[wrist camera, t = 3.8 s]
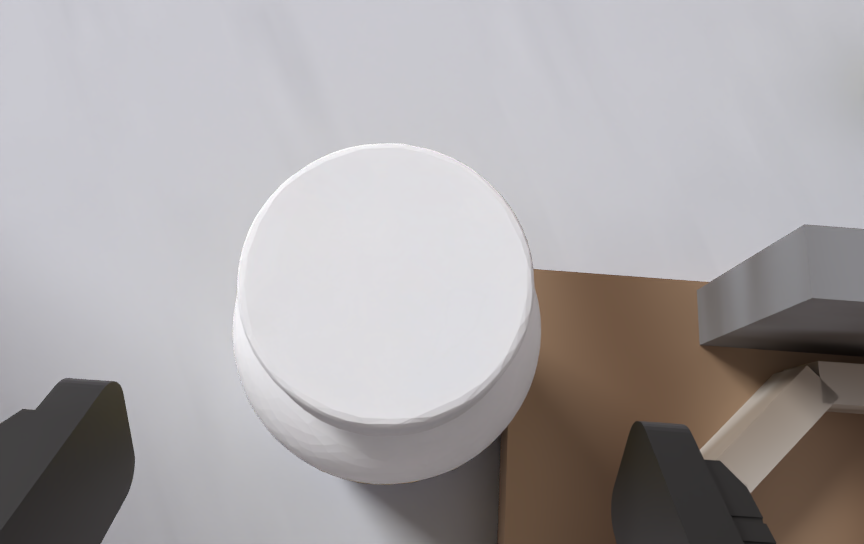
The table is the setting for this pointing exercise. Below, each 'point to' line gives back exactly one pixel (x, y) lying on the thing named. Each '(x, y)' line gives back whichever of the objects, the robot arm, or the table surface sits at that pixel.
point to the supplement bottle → (386, 314)
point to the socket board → (699, 390)
